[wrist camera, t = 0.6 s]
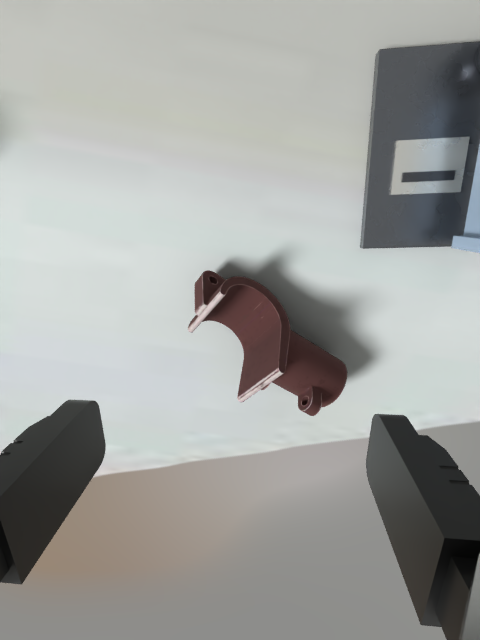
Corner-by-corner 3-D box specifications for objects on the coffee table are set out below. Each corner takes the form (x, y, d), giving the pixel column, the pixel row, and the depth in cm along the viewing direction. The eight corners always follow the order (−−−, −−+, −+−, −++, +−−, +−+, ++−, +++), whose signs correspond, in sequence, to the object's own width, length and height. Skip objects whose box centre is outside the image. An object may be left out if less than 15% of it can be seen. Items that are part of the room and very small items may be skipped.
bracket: (216, 251, 31) (191, 322, 24) (344, 334, 36) (355, 413, 29) (187, 289, 35) (158, 361, 28) (307, 360, 40) (308, 435, 33)
